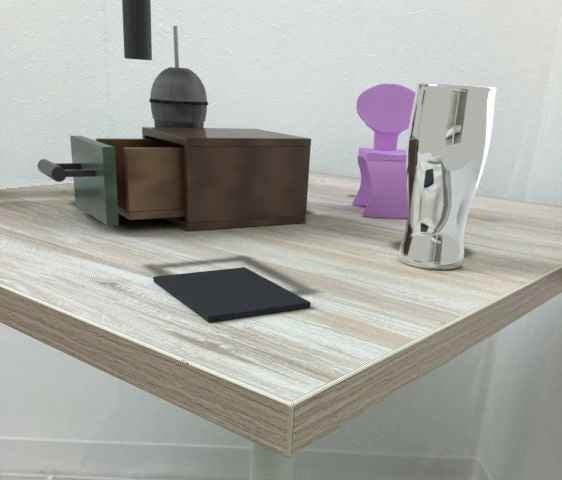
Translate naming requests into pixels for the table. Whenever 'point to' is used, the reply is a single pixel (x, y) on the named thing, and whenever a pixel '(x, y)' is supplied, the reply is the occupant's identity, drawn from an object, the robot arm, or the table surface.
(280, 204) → the cabinet
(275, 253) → the table surface
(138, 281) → the table surface
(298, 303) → the mat
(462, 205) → the beer glass
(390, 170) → the toy chair
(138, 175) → the drawer
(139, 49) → the marker
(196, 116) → the beverage cup
